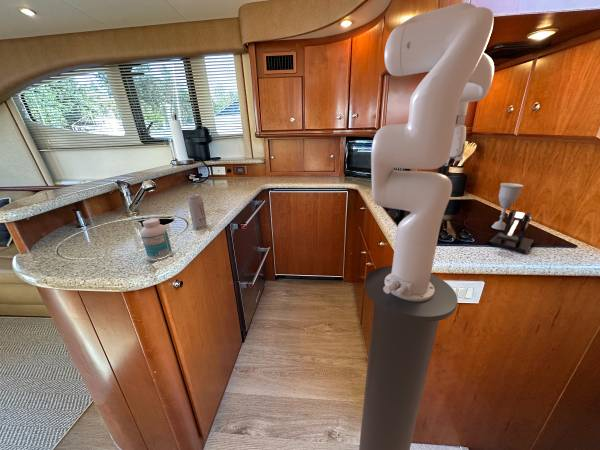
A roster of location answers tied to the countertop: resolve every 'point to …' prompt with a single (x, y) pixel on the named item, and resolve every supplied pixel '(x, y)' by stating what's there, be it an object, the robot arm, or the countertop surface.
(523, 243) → the bracket
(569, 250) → the countertop surface
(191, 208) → the energy drink can
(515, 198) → the chalice
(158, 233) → the pill bottle
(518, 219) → the lever
